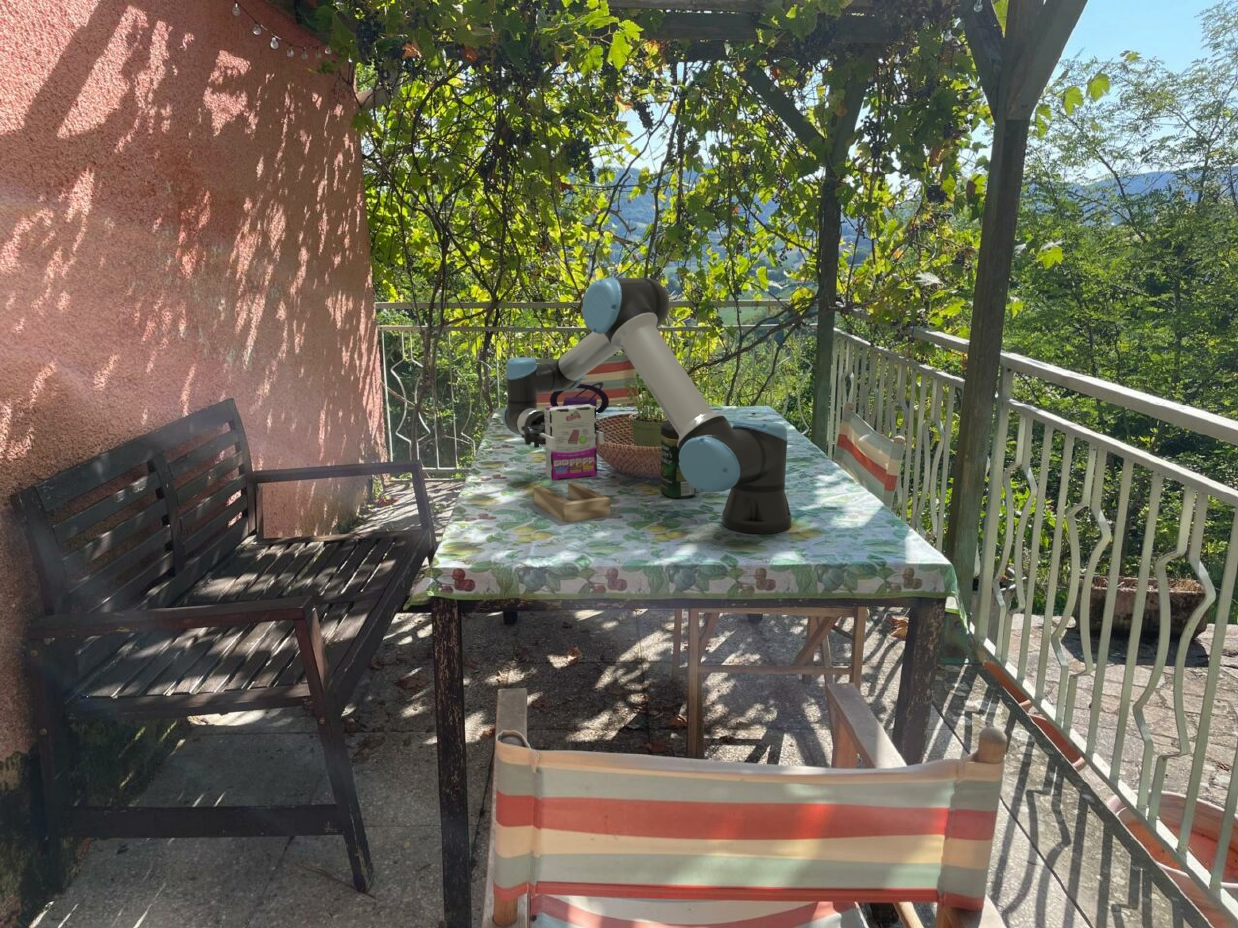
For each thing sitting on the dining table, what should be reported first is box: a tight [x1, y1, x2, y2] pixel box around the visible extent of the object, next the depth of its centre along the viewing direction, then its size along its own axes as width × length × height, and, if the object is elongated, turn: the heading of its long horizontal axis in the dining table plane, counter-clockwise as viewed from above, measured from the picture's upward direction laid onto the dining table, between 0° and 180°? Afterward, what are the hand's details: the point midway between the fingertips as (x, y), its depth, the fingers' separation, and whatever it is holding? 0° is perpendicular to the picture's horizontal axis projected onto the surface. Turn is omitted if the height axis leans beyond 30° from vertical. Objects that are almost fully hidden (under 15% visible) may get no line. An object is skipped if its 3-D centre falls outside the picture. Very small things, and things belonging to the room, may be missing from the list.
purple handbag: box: [549, 375, 610, 414], centre depth 310 cm, size 22×21×25 cm
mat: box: [522, 497, 624, 527], centre depth 196 cm, size 16×20×1 cm
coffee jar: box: [659, 419, 697, 499], centre depth 209 cm, size 10×8×19 cm
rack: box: [533, 481, 611, 522], centre depth 196 cm, size 11×18×4 cm, turn 30°
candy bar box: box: [543, 404, 598, 482], centre depth 193 cm, size 11×5×16 cm, turn 112°
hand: (578, 441), depth 189 cm, fingers closed on candy bar box, 11 cm apart
